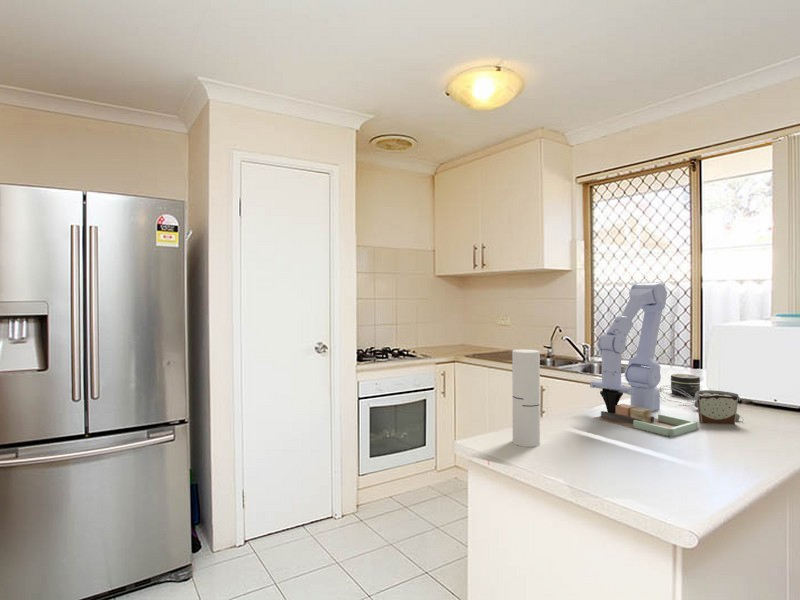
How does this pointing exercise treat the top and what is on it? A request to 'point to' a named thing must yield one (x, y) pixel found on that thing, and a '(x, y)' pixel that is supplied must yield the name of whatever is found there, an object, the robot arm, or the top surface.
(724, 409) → the food container
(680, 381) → the jar
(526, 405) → the cylindrical container
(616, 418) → the groove board
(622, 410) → the terracotta block
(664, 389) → the kitchen whisk
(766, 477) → the top surface
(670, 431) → the tray
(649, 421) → the birch block
